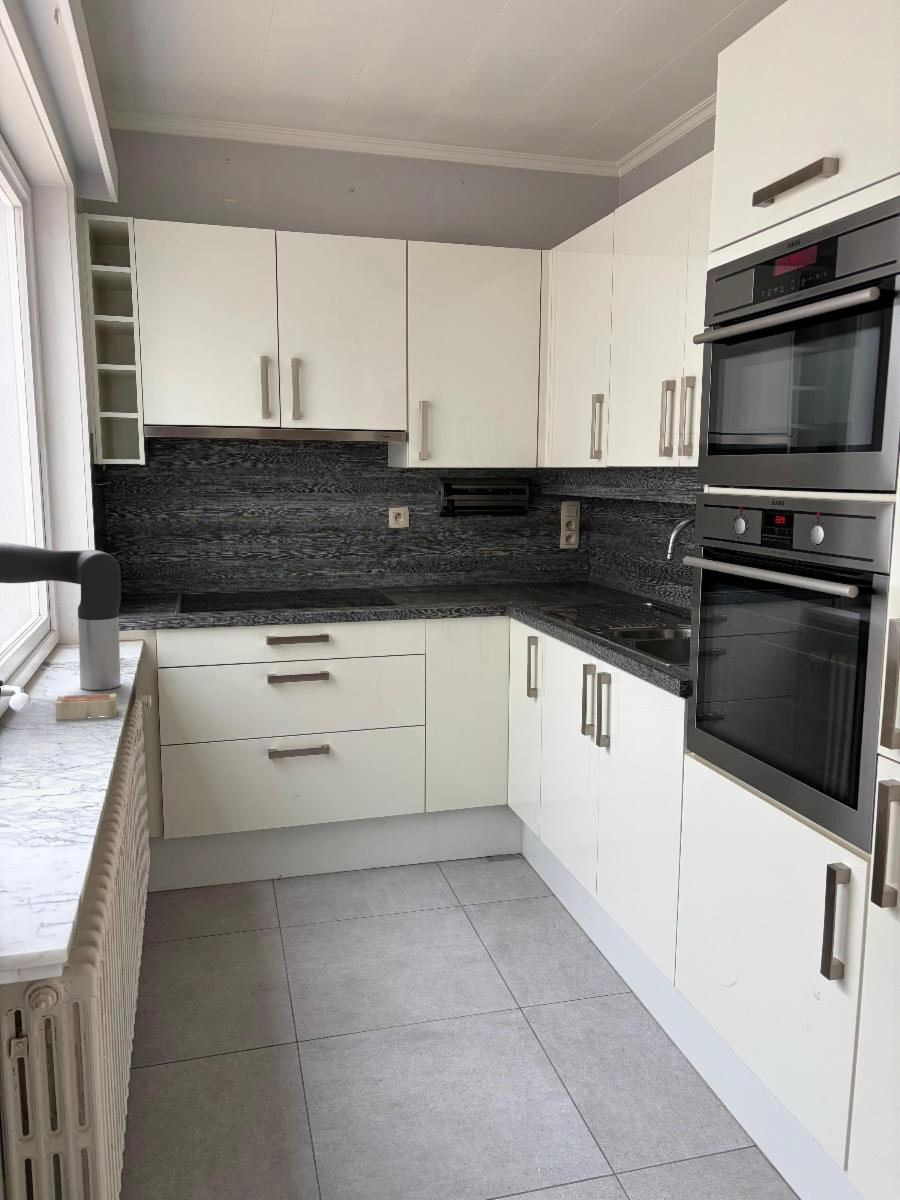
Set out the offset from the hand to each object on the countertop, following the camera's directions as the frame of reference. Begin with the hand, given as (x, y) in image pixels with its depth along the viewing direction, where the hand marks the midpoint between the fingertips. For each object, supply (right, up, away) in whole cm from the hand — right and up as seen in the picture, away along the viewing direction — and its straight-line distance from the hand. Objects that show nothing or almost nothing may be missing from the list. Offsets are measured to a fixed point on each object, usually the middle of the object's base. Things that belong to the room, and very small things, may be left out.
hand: (2, 685), depth 195 cm
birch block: (+10, -5, +3) cm, 12 cm away
